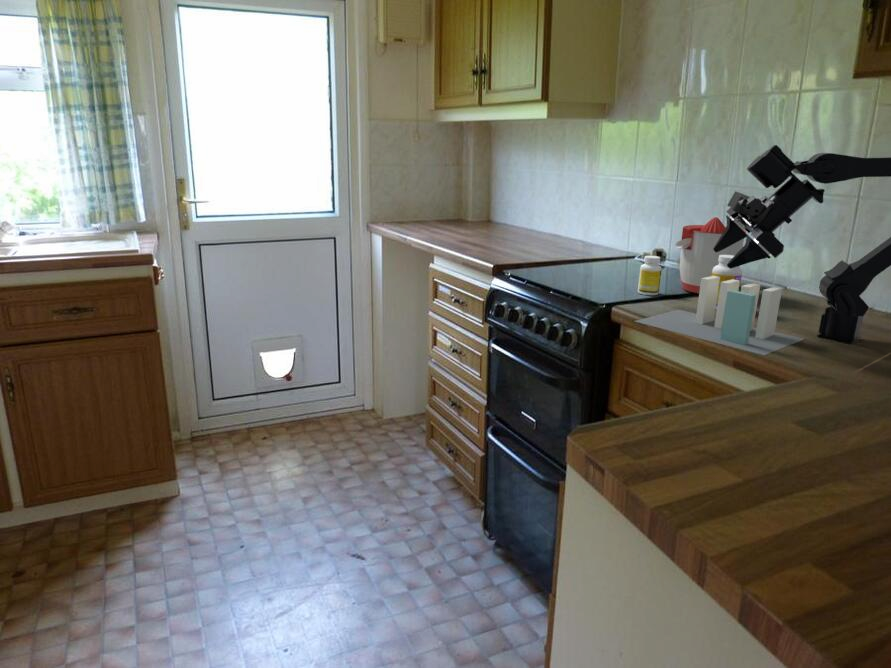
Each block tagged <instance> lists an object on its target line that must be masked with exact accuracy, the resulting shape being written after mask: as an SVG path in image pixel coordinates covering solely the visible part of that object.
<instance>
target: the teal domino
mask: <svg viewBox="0 0 891 668" xmlns="http://www.w3.org/2000/svg"><path fill="white" fill-rule="evenodd" d="M755 298H756V295H754V294H749V293H744V292H741V291H740V290H739V291H734V290H730V291H727V298H726V304H725V311H724V318H723V324H722V331H721V337H720V339H723V340H727V341H730V342H734V343H738V344H742V345H745V344H748V340H749V334H750V328H751V322H752V316H753V310H754V304H755Z"/></svg>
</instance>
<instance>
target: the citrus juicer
mask: <svg viewBox="0 0 891 668" xmlns="http://www.w3.org/2000/svg"><path fill="white" fill-rule="evenodd" d="M725 228H726V226H725V225H724V223H723V222H722V221H721V219H719V217H716V216H714V217H713V218H711V219H709V220H708V222H707V223H705V224H693V225H692V224H689V225H684V226H683V227H682V232H681V239H680V240H678V241H676V244H675V249H678V250H679V249H680V257H679V276H680V283H681V286H682V289H684V290H685V291H687V292H689V293H690V292H691V293H694V294H696V293H697V294H696V295H698V294H699V292H700V285H701V278H705V277H710V276H712V270H713V268H714V267H715V266H717V265H718V264H719V260H718V259H719V255H733V256H735V255H736V254H737V253H738V252H739V251H740V250H741V249H742V247H743V246H744V241H745V238H744V239H742V240H740V241H738V242H736V243H734V244H733V245H731V246H729V247H727V248H725V249H723V250H721V251H719V252H717V253H716V252H715V251H714V250H713V248H714V247H715V245H716V243H717V242H718V240H719V239H720V237H721V235H722V234H723V232H724V230H725ZM743 231H744V232H745V233H746V234H747V231H746V230H743ZM738 267H739V268H740V267H741V265H740V266H738Z"/></svg>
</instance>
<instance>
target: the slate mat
mask: <svg viewBox="0 0 891 668" xmlns="http://www.w3.org/2000/svg"><path fill="white" fill-rule="evenodd" d="M715 319H716V317H714V321H711V322H708V323H704V324H699V323H695V321H696V313H695V312H691V311H685V310H682V309H675V310H672V311H668V312H667V311H666V312H665V313H660V314H657V315H652V316H648V317H645V318H641V319H637V320H634V321H633V322H635V323H638V324H643V325H646V326H649V327H653V328H654V327H655V328H656V329H657V328H658V329H661V330H665V331H669V332H673V333H677V334H680V335H684V336H689V337H692V338H695V339H701V340H705V341H708V342H711V343H714V344H715V343H716V344H719V345H723V346H727V347H729V348H733V349H738V350H742V351H745V352H749V353H753V354H757V355H760V356H766V355H769V354H771V353H774V352H775V351H778V350H782V349H783V348H787V347H788V346H791V345H794V344H797V343H798V342H801V341H804V340H805V338H803V337H798V336H793V335H790V334H786V333H780V332H777V331H775V332H774V335H773V336H770V337H767V338H764V339H761V338H756V337H755V335H756V329H757V326H756V327H755V326H753V330H751V331H750V334H749V340H748V344H745V345H742V344H738V343H734V342H730V341H727V340H723V339H720V337H721V331H722V329H719V328H715V327H714V326H715Z"/></svg>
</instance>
